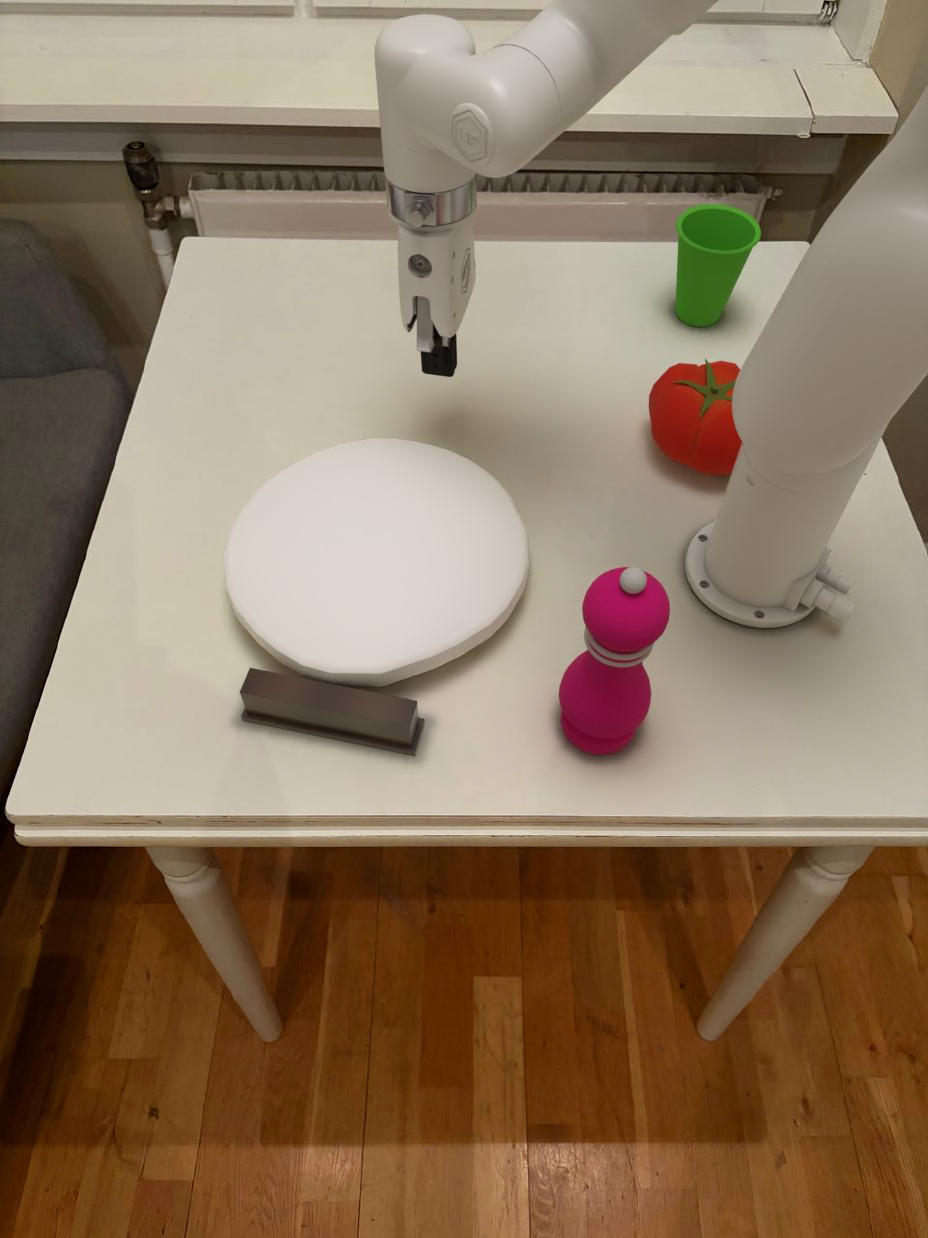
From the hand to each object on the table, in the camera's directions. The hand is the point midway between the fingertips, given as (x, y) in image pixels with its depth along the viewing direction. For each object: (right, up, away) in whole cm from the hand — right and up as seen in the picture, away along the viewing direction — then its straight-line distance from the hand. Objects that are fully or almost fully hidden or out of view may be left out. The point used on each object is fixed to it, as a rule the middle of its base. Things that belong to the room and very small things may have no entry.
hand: (439, 369), depth 93 cm
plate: (-5, -20, -5) cm, 22 cm away
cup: (+30, +11, +18) cm, 36 cm away
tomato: (+27, -7, +5) cm, 28 cm away
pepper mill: (+13, -33, -14) cm, 38 cm away
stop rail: (-8, -33, -15) cm, 37 cm away
